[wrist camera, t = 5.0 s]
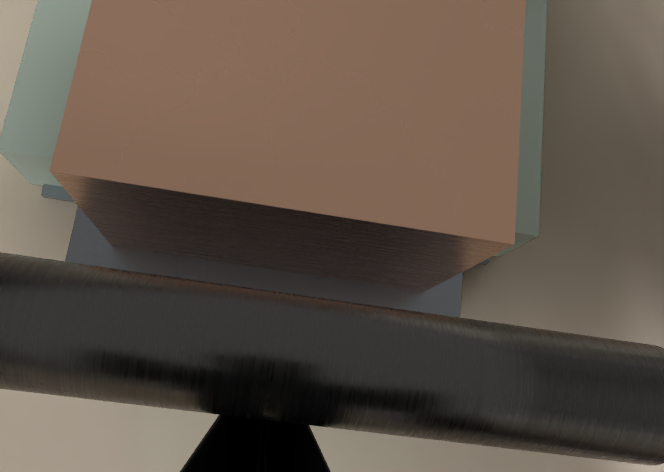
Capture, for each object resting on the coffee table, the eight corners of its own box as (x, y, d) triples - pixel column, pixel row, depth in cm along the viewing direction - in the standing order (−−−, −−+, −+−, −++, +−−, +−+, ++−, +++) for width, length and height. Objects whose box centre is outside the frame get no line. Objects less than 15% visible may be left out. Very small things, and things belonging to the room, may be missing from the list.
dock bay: (499, 266, 18) (550, 242, 15) (27, 194, 16) (-17, 152, 13) (512, -3, 20) (559, -69, 17) (99, -88, 19) (74, -177, 16)
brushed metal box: (407, 422, 16) (710, 473, 6) (80, 382, 15) (-239, 363, 5) (434, 93, 18) (684, -279, 8) (154, 41, 17) (43, -451, 7)
